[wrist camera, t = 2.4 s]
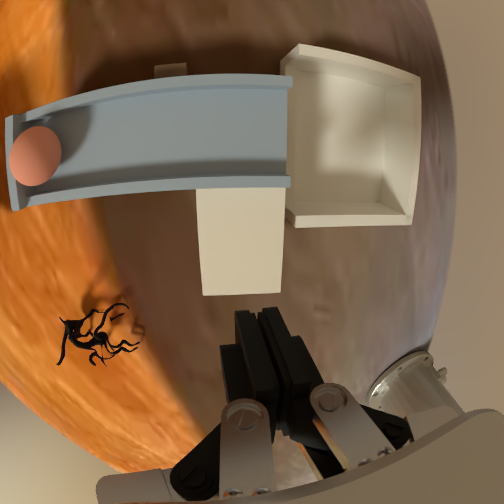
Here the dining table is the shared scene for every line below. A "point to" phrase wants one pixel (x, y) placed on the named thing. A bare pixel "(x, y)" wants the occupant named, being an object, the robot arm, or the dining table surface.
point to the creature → (97, 338)
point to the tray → (350, 140)
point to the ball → (35, 156)
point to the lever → (181, 162)
